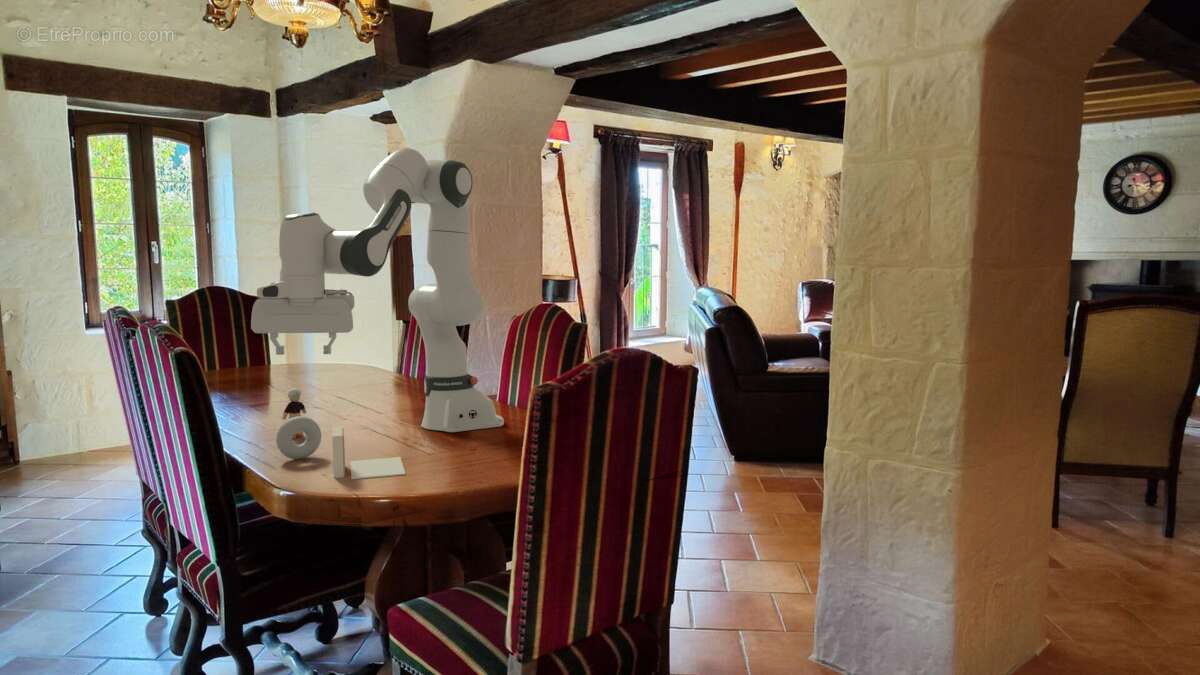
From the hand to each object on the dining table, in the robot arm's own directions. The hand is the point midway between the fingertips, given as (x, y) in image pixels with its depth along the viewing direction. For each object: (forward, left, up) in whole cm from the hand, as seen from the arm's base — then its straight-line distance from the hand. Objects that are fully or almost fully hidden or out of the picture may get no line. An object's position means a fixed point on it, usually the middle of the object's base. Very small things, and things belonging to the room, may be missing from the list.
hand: (304, 354), depth 161 cm
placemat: (-14, +2, -26) cm, 30 cm away
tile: (-6, +2, -26) cm, 27 cm away
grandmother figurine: (+4, -36, -26) cm, 44 cm away
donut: (+2, -12, -26) cm, 29 cm away
